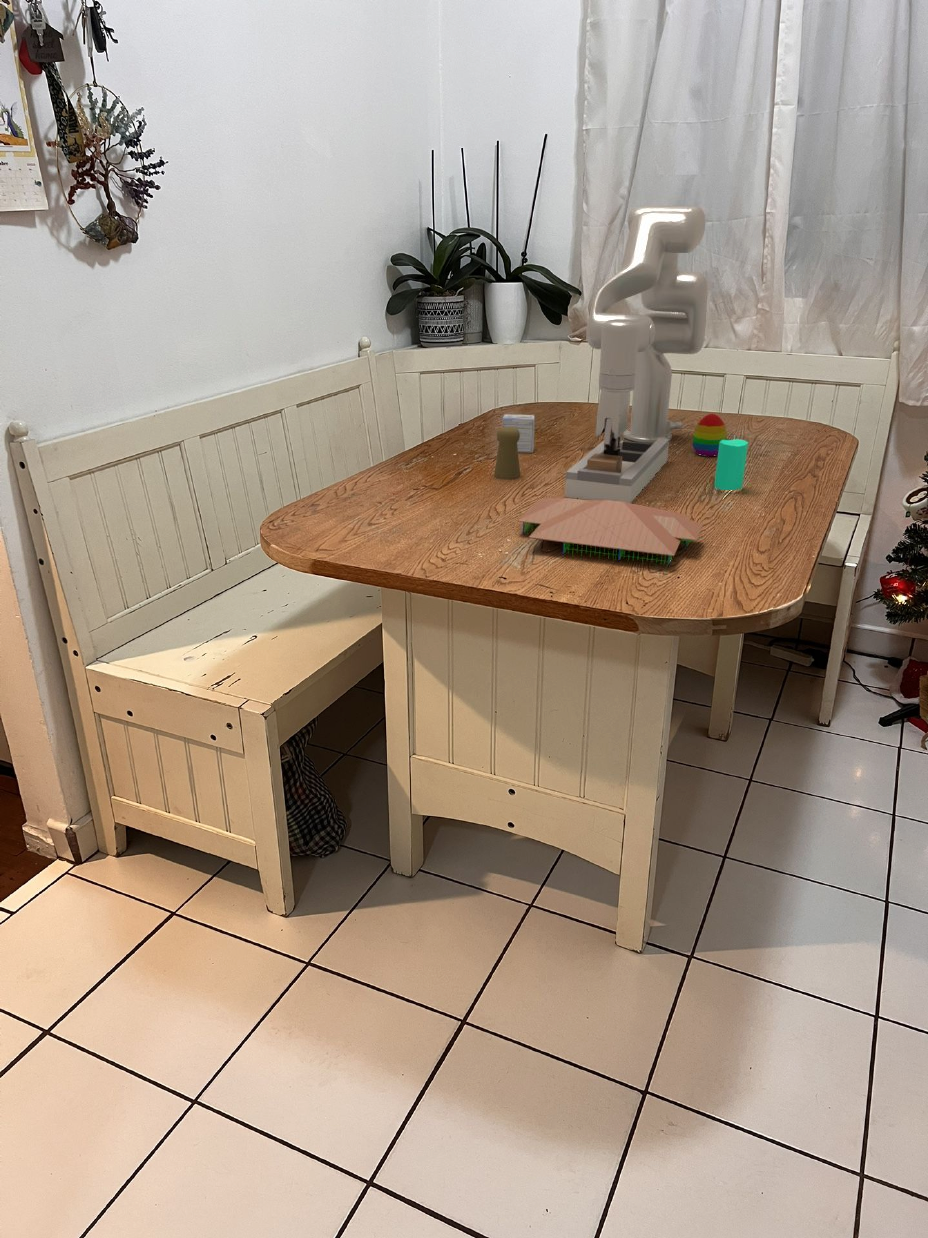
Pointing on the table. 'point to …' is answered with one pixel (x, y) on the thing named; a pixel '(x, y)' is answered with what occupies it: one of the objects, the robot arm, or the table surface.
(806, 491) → the table surface
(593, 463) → the walnut block
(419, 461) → the table surface
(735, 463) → the candle
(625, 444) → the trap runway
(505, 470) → the olive pawn
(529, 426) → the medicine box
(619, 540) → the house
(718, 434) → the decorative egg
